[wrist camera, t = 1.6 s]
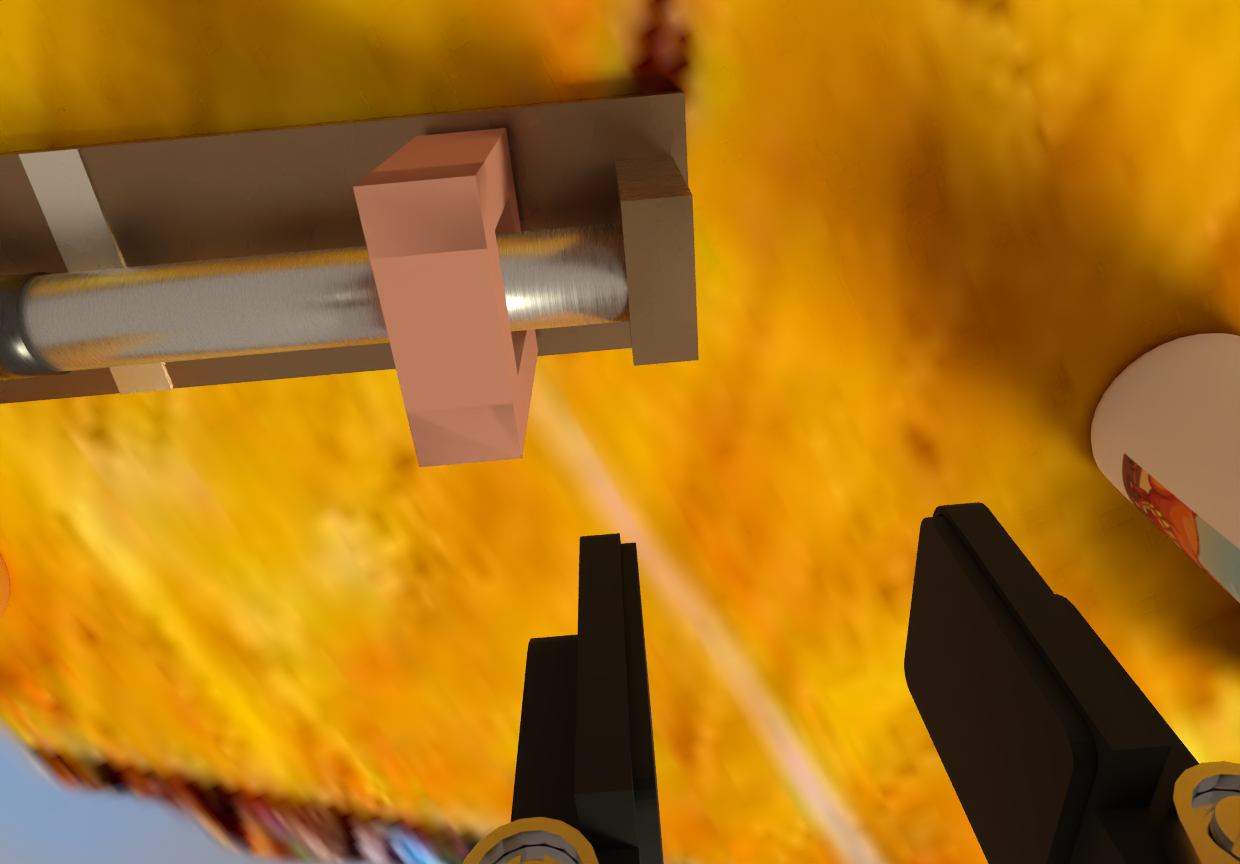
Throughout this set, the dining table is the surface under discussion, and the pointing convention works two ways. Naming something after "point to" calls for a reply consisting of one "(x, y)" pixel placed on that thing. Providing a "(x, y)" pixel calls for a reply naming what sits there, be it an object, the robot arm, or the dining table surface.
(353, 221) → the pipe rig
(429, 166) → the collar
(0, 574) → the beer bottle
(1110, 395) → the milk bottle
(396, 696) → the dining table surface
